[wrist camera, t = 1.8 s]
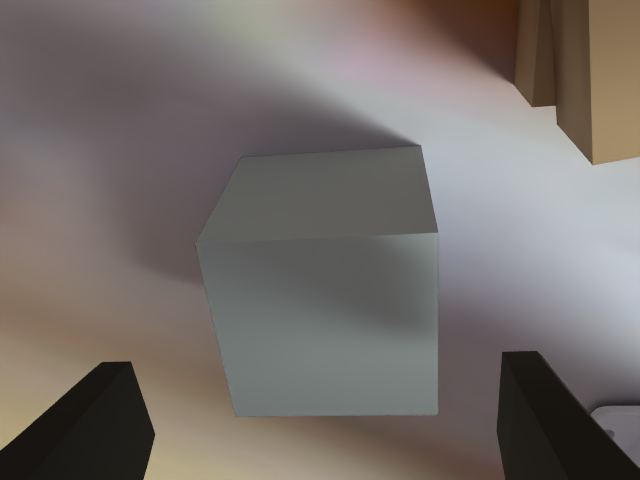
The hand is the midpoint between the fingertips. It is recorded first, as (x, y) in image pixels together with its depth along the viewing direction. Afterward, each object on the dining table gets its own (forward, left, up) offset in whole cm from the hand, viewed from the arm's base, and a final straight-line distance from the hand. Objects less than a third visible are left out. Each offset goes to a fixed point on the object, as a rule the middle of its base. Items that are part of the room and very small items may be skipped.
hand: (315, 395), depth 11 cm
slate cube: (0, 0, -7) cm, 7 cm away
